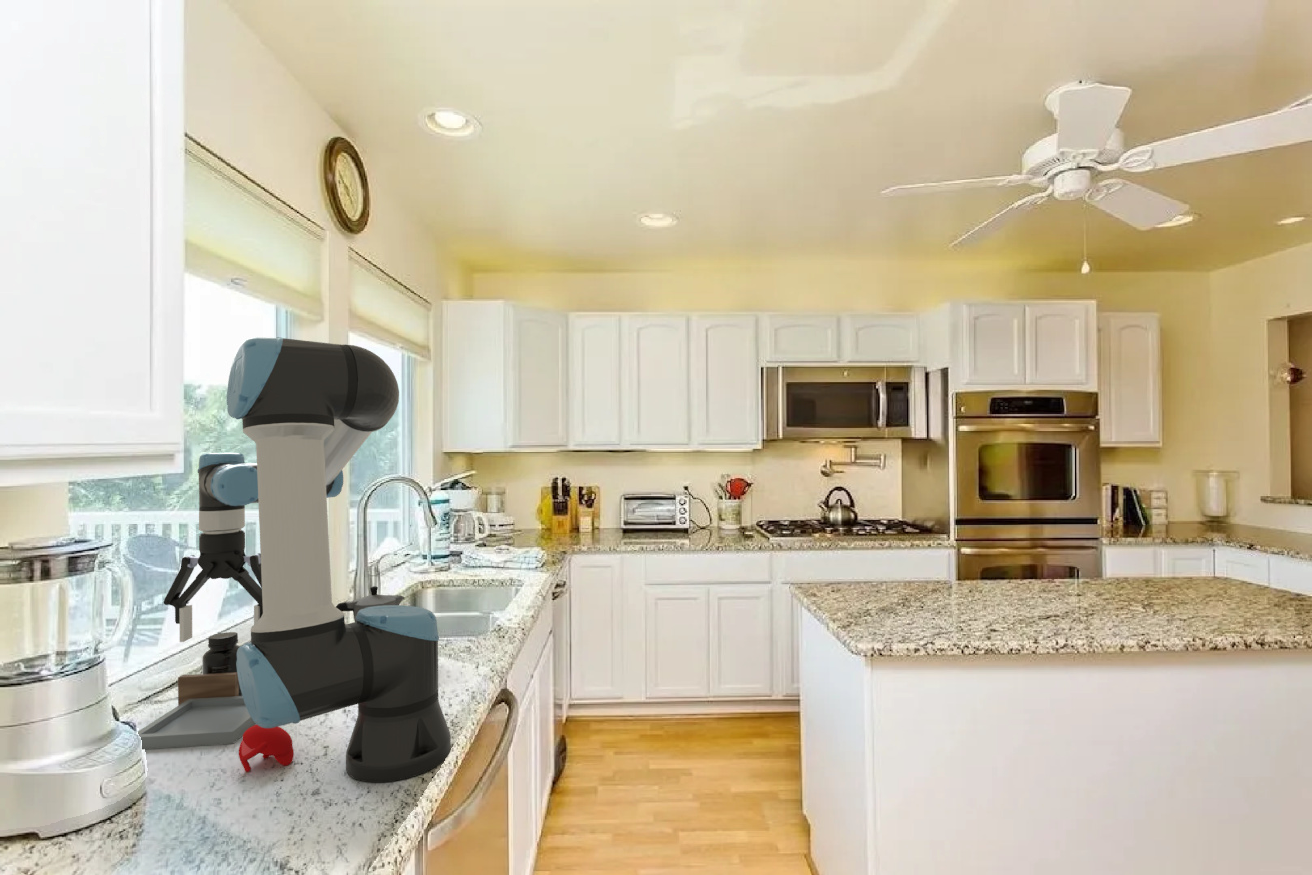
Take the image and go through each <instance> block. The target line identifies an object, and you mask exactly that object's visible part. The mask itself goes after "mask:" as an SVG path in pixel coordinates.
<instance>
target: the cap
mask: <svg viewBox="0 0 1312 875" xmlns="http://www.w3.org/2000/svg"><path fill="white" fill-rule="evenodd" d="M293 746H294V745H293V739H292V737H291V735H290V733H288V732H287V731H286V730H285V729H284V728H282V727H281V726H278V727H274V728H262V727H260V726H258V725H257V724H256V725H254V726H252V727H250V728H248V729H247V730H246V731H245V732H244V734H243V736H242V740H241V742H240V743H239V747H238V758H239V761H240V764H241V765H242V767H243V769H244V772H245V773H249V772H250V771H251V770H252V768H251V765H250V763H249V761H248V760H251V759H252V758H254V757H255V756H257V755H259V754H260V755H261V754H262V758H263V759H268V758H270V757H274V759H275V761H276V762H277V763H278V764H280V765H282V766H284V767H285V766H290V765H291V763H292V762H293V760H294V755H295V754H294V747H293Z"/></svg>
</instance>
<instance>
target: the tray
mask: <svg viewBox="0 0 1312 875" xmlns="http://www.w3.org/2000/svg"><path fill="white" fill-rule="evenodd" d="M254 725H257V724H256V723H255V722H254V721H253V720H252V718H251V716H250V715H249V713H248V710H247V708H246V705H245V703H244V700H243V696H242V695H240V696H232V697H215V698H197V699H188V700H186V701H185V702H183V703H182V704H180V705H179V706H178V705H177V706H175V707H174V708H172V709H171V710H169V711H168V712H165V714H163V715H161V716H160V717H159V718H156V719H155V720H154V721H152V722H150V723H149V724H147V725H146V726H144V727H143V728H141V729H140V730H138V731H137V732H138V734H139V736H140V737H141V740H142V750H155V749H156V750H157V749H169V748H170V749H171V748H185V747H186V748H187V747H189V748H190V747H200V746H203V747H204V746H217V745H220V746H221V745H233V744H235V743H236V742H237V741H238V740H239V739H240V738H242V737H243V734H244V732H245V731H246V730H247V729H248V728H250V727H252V726H254Z"/></svg>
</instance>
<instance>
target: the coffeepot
mask: <svg viewBox="0 0 1312 875" xmlns="http://www.w3.org/2000/svg"><path fill="white" fill-rule="evenodd" d="M369 589H370V595H367V596H364V597H360V598H357V599H353V600H352V601H351V600H350V601H344V602H340V603H338V604H336V606H335V607H336V608H338V609H339V610H340V611H342V612H352V613H353V614H352V615H353V619H354V622H356V616H357V613H358V611H359V610H361V609H365V608H367V607H373V606H384V605H400V604H401V602H402V601H403V600H404V599H405V597H404V596H403V595H395V594H388V595H387V594H386V595H385V594H378V590H379V587H378V586H375V585H374V586H372V587H370V588H369Z"/></svg>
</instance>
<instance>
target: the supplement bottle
mask: <svg viewBox="0 0 1312 875" xmlns="http://www.w3.org/2000/svg"><path fill="white" fill-rule="evenodd" d="M238 635H239V634H238V632H235V631H228V632H227V631H226V632H222V633H221V632H220V633H217V634H213V635H210V636H208V644H207V648H209V649H208V650H207V651H206V652H205V653H203V656H202V662H201V663H202V674H215V673H234V672H237V666H236V662H237V650H238V648H239V647H240V646H241V645H238V643H239V636H238ZM239 696H242V693H241V689H240V685H239Z"/></svg>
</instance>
